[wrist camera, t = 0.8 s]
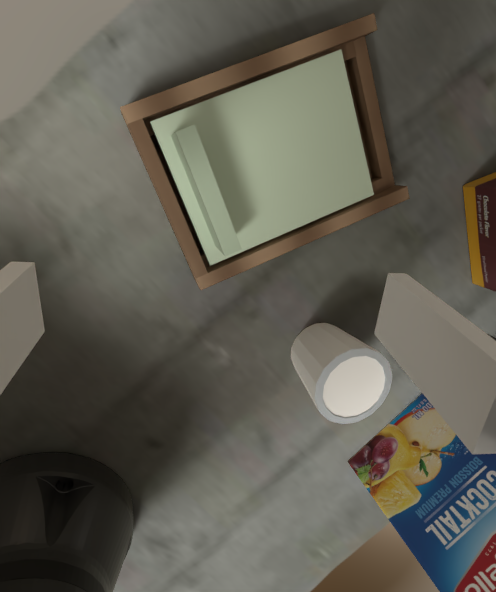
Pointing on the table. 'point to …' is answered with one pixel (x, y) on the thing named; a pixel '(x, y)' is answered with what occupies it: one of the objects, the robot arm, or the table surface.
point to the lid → (267, 156)
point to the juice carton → (435, 496)
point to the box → (241, 75)
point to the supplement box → (482, 229)
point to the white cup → (340, 373)
